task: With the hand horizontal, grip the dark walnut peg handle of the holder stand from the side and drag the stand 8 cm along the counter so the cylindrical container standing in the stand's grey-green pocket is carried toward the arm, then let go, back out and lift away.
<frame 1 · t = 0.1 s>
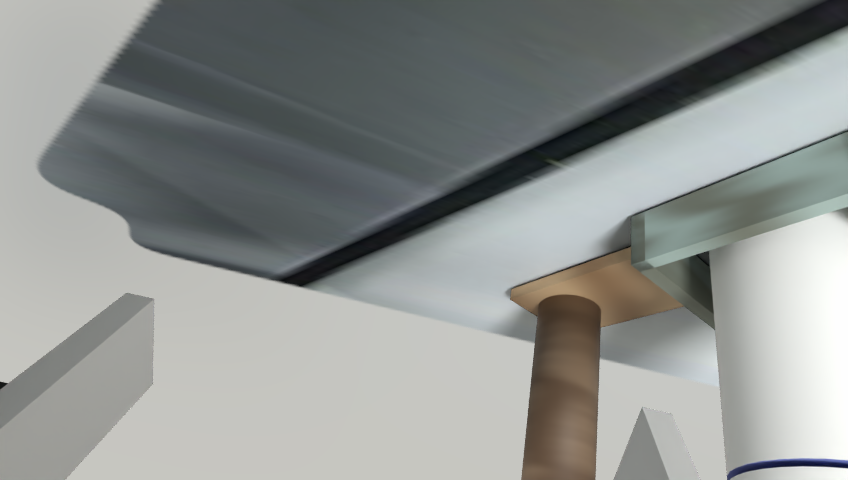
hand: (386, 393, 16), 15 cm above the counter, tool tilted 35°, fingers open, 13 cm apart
cylindrical container: (784, 226, 30), resting in holder stand
holder stand: (691, 368, 30), point 7 cm above the counter, slide at 0.0 cm
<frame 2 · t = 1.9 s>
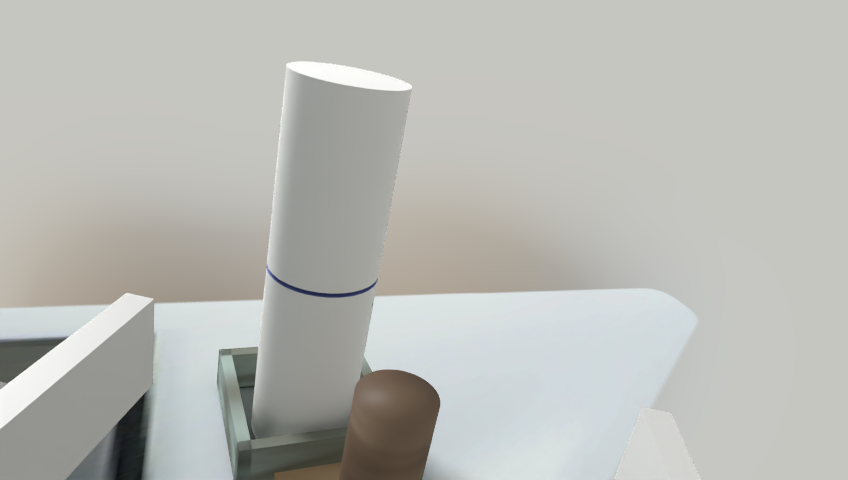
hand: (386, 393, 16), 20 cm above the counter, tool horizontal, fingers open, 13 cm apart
cylindrical container: (301, 424, 44), resting in holder stand
holder stand: (332, 396, 37), point 7 cm above the counter, slide at 0.0 cm
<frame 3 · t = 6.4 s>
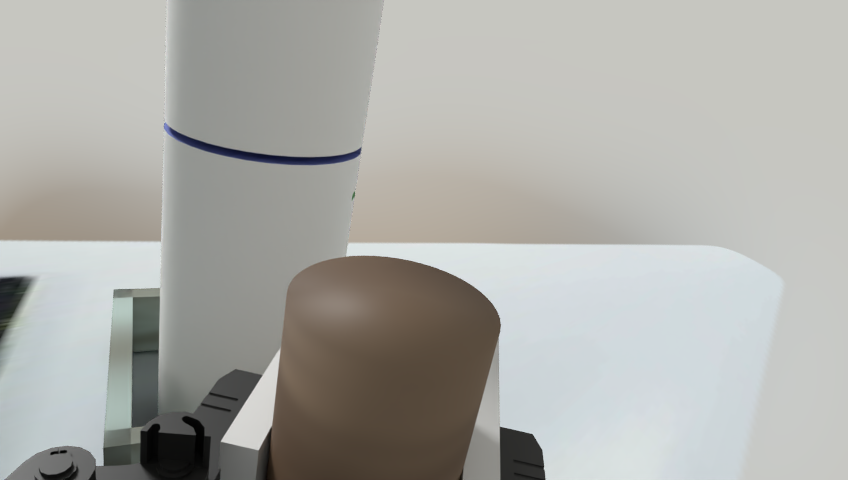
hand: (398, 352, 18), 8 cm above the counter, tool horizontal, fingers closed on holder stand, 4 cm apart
cylindrical container: (243, 407, 27), resting in holder stand
holder stand: (279, 347, 20), point 7 cm above the counter, slide at 0.0 cm, touching gripper
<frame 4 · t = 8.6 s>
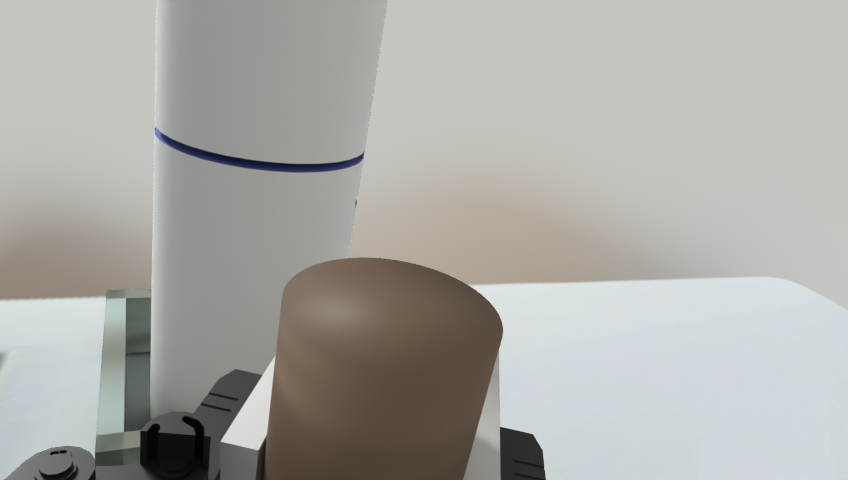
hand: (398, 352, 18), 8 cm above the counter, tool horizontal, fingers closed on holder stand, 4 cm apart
cylindrical container: (239, 423, 26), resting in holder stand
holder stand: (274, 349, 20), point 7 cm above the counter, slide at 7.4 cm, touching cylindrical container, gripper
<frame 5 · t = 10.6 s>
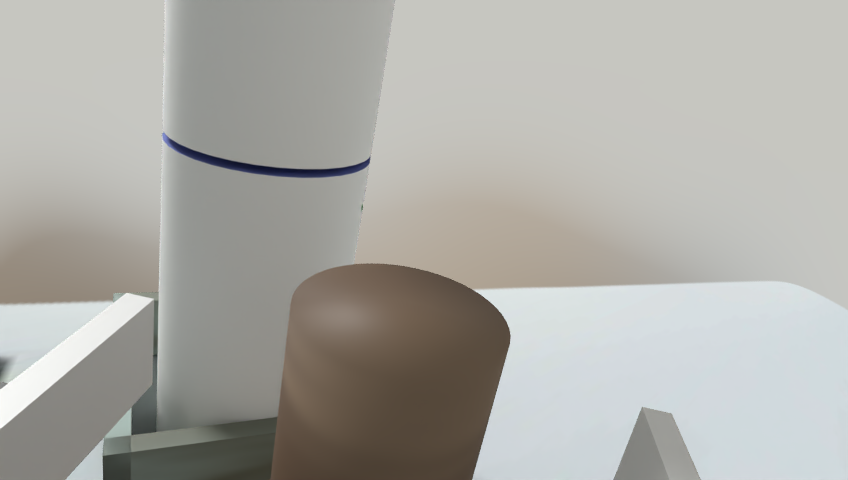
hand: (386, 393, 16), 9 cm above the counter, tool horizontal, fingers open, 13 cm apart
cylindrical container: (245, 427, 26), resting in holder stand
holder stand: (281, 353, 20), point 7 cm above the counter, slide at 7.6 cm
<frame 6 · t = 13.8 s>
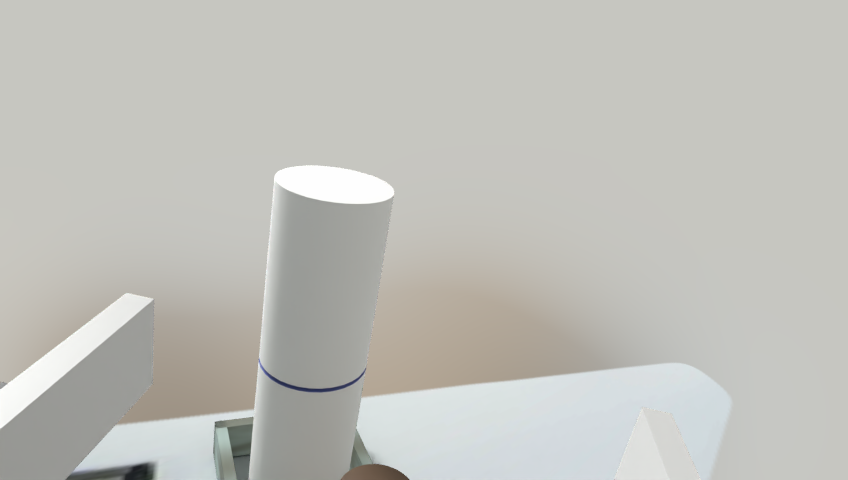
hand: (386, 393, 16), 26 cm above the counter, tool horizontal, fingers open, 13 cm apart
holder stand: (321, 475, 39), point 7 cm above the counter, slide at 7.6 cm
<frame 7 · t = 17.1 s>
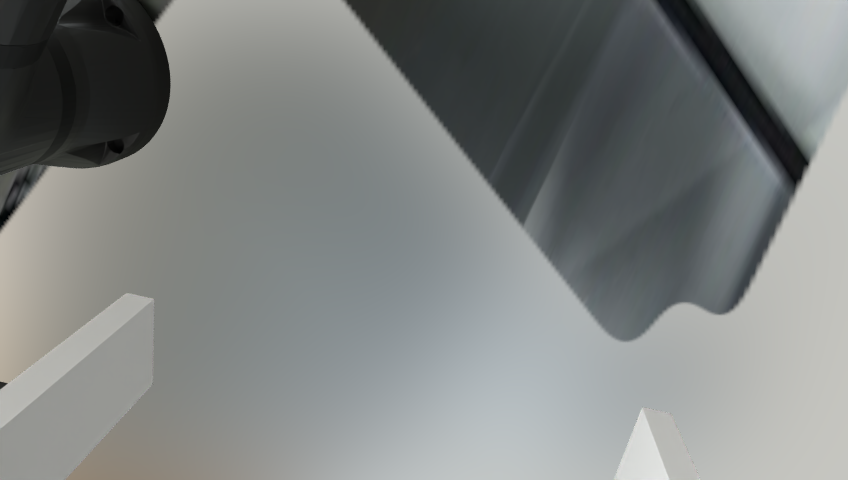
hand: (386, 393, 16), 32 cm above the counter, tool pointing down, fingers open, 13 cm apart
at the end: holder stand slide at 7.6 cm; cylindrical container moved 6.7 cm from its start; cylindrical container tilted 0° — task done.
